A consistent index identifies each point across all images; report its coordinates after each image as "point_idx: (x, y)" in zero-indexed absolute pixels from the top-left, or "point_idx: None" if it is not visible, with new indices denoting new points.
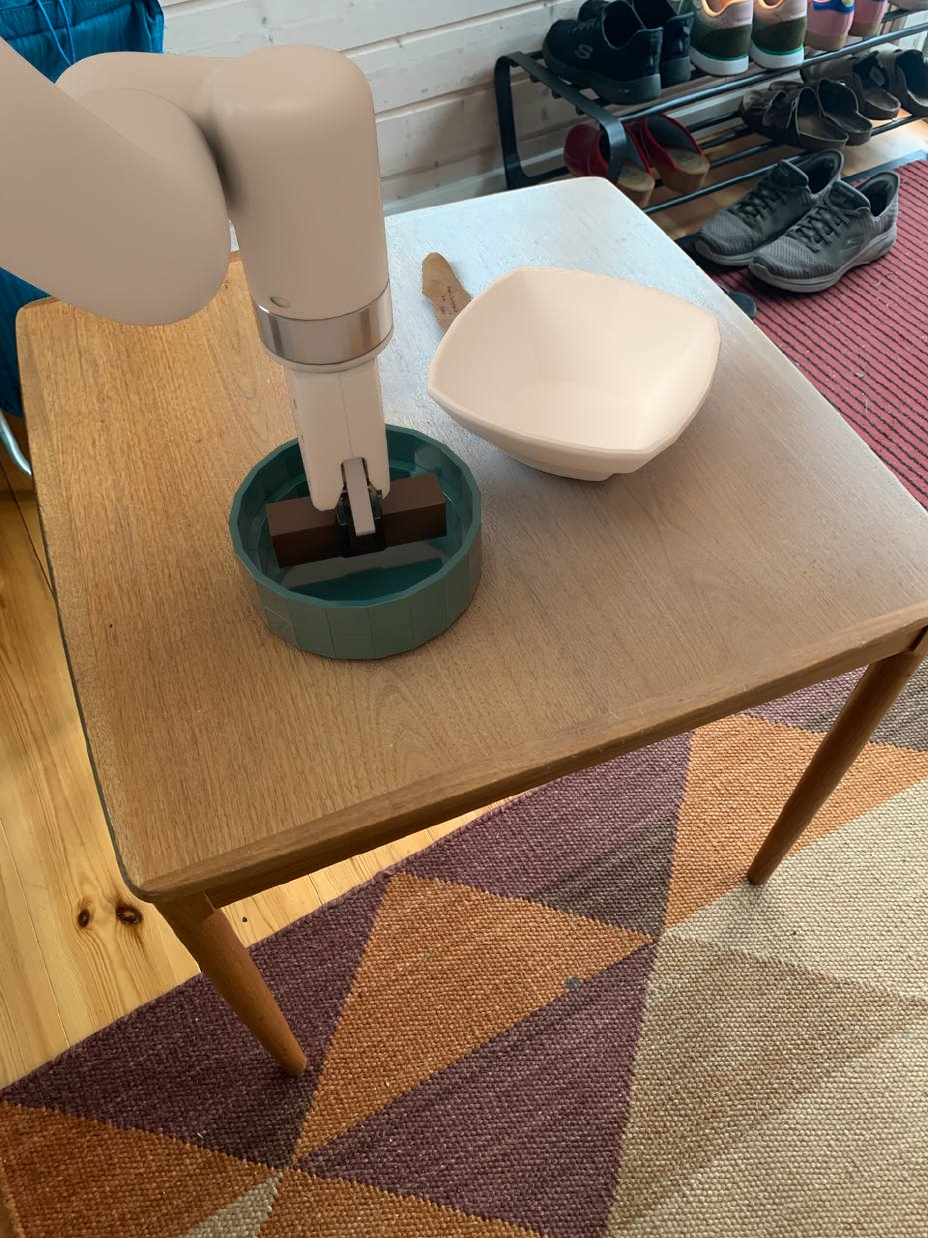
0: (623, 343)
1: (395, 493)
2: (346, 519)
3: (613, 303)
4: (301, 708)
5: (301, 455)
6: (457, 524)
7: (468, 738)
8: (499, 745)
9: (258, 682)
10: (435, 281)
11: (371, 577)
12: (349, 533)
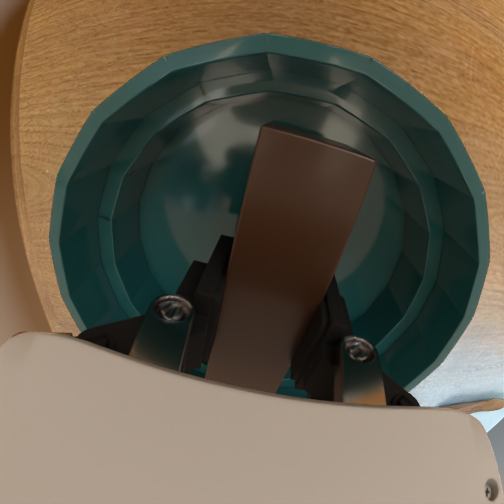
0: None
1: (249, 379)
2: (86, 338)
3: None
4: (103, 91)
5: (456, 277)
6: None
7: (44, 235)
8: (39, 253)
9: (155, 47)
10: (492, 404)
11: None
12: (184, 289)
